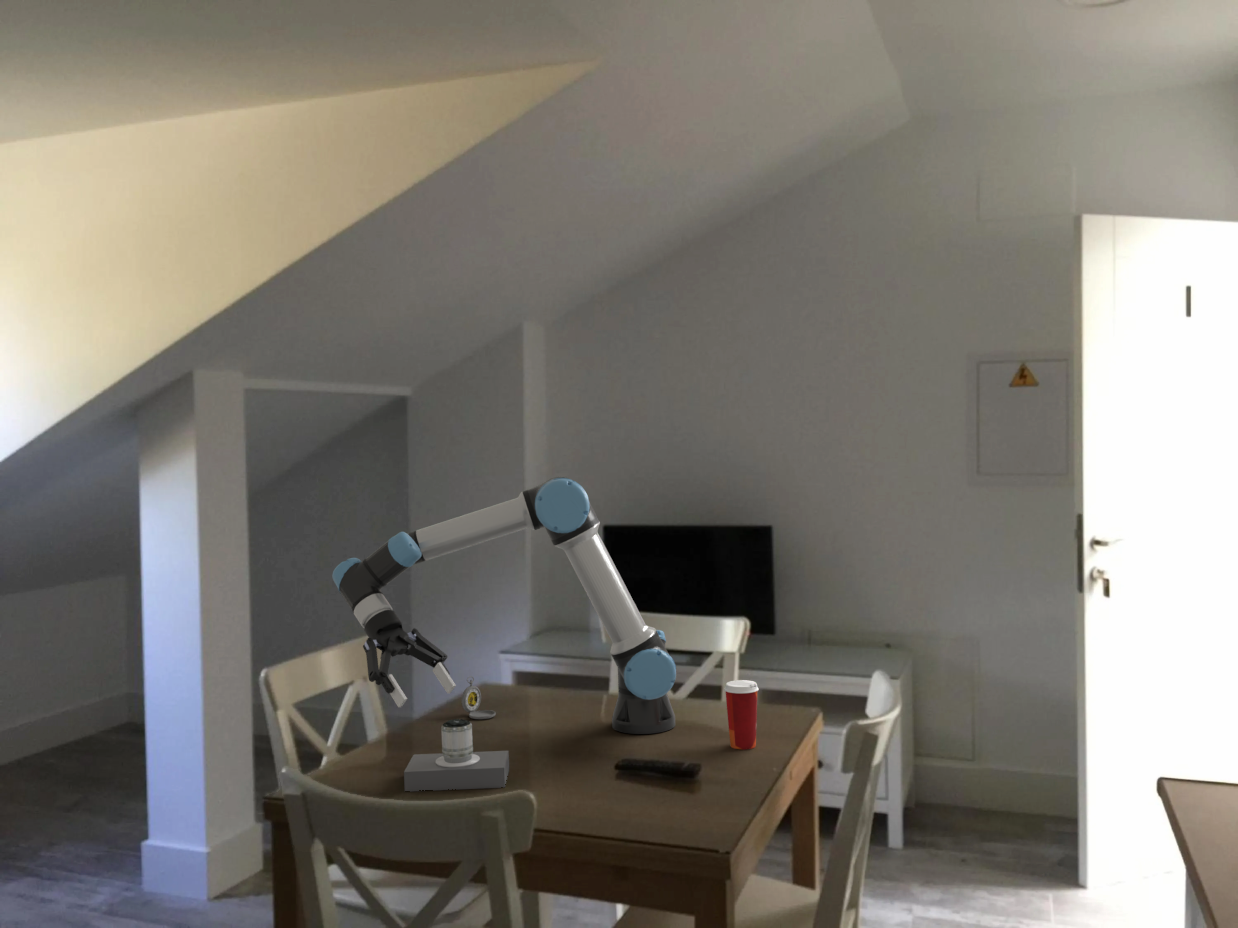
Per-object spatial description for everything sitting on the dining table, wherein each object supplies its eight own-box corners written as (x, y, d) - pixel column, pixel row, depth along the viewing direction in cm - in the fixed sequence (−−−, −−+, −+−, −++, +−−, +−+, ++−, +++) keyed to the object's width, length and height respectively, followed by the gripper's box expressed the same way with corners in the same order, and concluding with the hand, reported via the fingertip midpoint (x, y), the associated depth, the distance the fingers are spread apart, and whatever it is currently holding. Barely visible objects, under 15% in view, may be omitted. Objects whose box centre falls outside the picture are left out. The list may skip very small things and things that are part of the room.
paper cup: (767, 744, 242) (765, 682, 242) (746, 752, 237) (744, 688, 236) (739, 739, 248) (737, 677, 247) (718, 746, 242) (716, 684, 242)
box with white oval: (509, 769, 231) (508, 748, 231) (504, 787, 219) (504, 765, 219) (414, 773, 230) (413, 752, 230) (404, 791, 218) (403, 770, 218)
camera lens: (461, 752, 229) (459, 715, 229) (479, 758, 224) (477, 720, 224) (436, 759, 224) (434, 721, 224) (454, 765, 220) (452, 726, 220)
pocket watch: (494, 720, 272) (492, 680, 272) (460, 721, 272) (458, 681, 272) (498, 711, 280) (496, 673, 280) (465, 712, 280) (463, 674, 280)
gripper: (414, 621, 249) (462, 694, 240) (324, 640, 230) (373, 720, 221) (429, 600, 246) (479, 673, 237) (338, 616, 226) (389, 697, 217)
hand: (428, 696), depth 229 cm, fingers open, 13 cm apart
